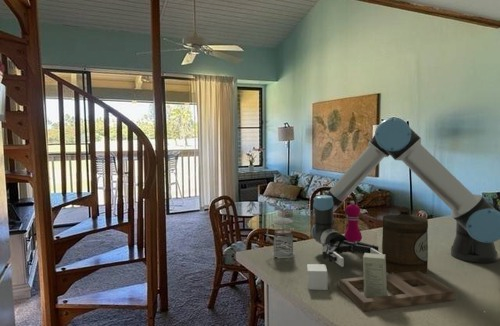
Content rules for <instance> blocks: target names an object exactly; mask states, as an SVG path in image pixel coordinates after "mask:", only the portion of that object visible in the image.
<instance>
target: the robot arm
mask: <svg viewBox="0 0 500 326" xmlns="http://www.w3.org/2000/svg"><path fill="white" fill-rule="evenodd" d="M389 156H390V157H392V159H393V160H395V161H401V162H403V163H404V164H405V165H406V167H407V168H409V169H410V171H412V173H414V175H416V176H417V177H418V178H419V179H420V180H421V181H422V182H423V183H424V184H425V185H426V186H427V187H428V188H429V189H430V190H431V191H432V192H433V193H434V194H435V195H436V196H437V197H438V198H439V199H440V200H441V201H442V202H443V203H444V204H445V205H446V206H447V207H448V208H449V209H450V210H451V217H452V218H453V219H454V220H455V222H456V224H455V225H456V226H455V227H456V229H455V233H456V234H455V237H454V239H453V243H452V245H451V247H450V255H451V256H452V257H454V258H456V259H458V260H462V261H466V262H472V263H478V264H479V263H480V264H489V263H490V264H491V263H494V262H495V263H496V262H497V261H498V259H499V258H498V254H499V253H498V251H497V249H496V245H495V243H494V242H498V241H499V240H500V211H498V210H497V209H496V208H495V207H494V201H493V199H492V198H491V197H483V196H482V195H481V194H473V193H472V192H471V191H470V190H469V189H468V188H467V187H466V186H465V185H464V184H463V183H462V182H461V181H460V180H459V179H457V177H456V176H454V175H453V174H452V173H451V172H450V171H449V170H448V168H446V167H445V166H444V165H443V164H442V163H441V162H440V161H439V160H438V159H437V158H436V157H435V156H434V155H432V153H431V152H430V151H428V150H427V149H426V148H425V147H424V145H422V138H421V137H420V135H418V134H417V133H416V132H415V131H414V130H413V129H412V128H411V127H410V125H409V124H408V123H407V121H405V120H404V119H402V118H400V117H389V118H386V119H383V120H382V121H381V122H380V123H379V124H378V125H377V127H376V128H375V131H374V135H373V137H372V138H371V139H370V140H369V141H368V146H367V148H366V149H365V150H364V151H363V152H362V153H361V154H360V155H359V157H358V158H356V160H355V161H354V162H353V163H352V164H351V166H350V167H348V168H347V170H346V171H345V172H344V173H343V175H341V177H340V178H339V179H338V180H337V181H336V182H335V183H334V184H333V185H332V187H331V188H330V189H329V190H328V191H327V192H326V194H321V195H316V196H314V199H313V211H314V212H313V215H314V219H313V220H314V221H313V222H314V223H313V225H312V227H311V229H310V230H311V231H310V233H311V236H312V238H313V239H314V240H315V242H317V243H318V244H321V246H322V260H327V259H328V262H330V263H333V262H334V263H336V264H337V265H339V266H340V267H342V268H343V267H344V265H345V260H344V257H343V256H341V254H343V253H351V254H354V253H359V254H363V255H364V253H374V254H382V252H380V251H379V246H378V245H375V244H373V245H372V244H370V243H366V242H361V241H360V242H359V241H355V243H353V242H349V241H347V239H346V237H345V236H344V234H342V233H341V232H339V231H336V230H335V229H334V214H335V211H336V210H338V208H339V207H340V206H341V205H342V204H343V202H344V201H346V199H347V198H348V197H349V196H350V195H351V194H352V193H353V192H354V190H355V189H356V188H357V187H358V186H359V185H360V184H362V182H363V181H364V180H365V179H366V178H367V176H369V174H370V173H371V172H373V170H374V169H375V168H376V167H377V166H378V165H379V163H380V162H381V161H382V160H383V159H384V158H388V157H389Z"/></svg>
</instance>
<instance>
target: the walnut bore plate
mask: <svg viewBox="0 0 500 326" xmlns="http://www.w3.org/2000/svg"><path fill="white" fill-rule="evenodd" d="M386 282H387V289H388V290H389V291H391V292H392V293H393V294H392V295H387V296H383V297H375V298H370V297H365V296H364V293H363V294H362V293H361V291H359V290H358V289H362V288H364V276H360V277H350V278H341V279H338V288H339V289H340V290H341V291H342V292H343V293H344V294H346V295H347V297H349V298H350V300H351V301H353V303H354V304H356V305H357V306H358V307H359V308H360V309H361V310H362V311H363V312H370V311H377V310H385V309H386V310H387V309H393V308H394V309H395V308H401V307H409V306H410V307H411V306H417V305H425V304H433V303H434V304H435V303H441V302H448V301H449V302H451V301H455V300H456V291H455V290H453V289H452V288H450V287H449V286H446V285H444V284H443V283H441V282H439V281H438V280H436V279H434V278H433V277H430V276H429V275H427V274H423V273H421V272H420V271H413V272H403V273H386Z"/></svg>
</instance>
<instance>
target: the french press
mask: <svg viewBox="0 0 500 326" xmlns="http://www.w3.org/2000/svg"><path fill="white" fill-rule="evenodd" d="M279 197H280V198H281V207H282V208H281V210H282V211H281V213H282V217H277V218H276V219H274V220H273V221H272V223H273V224H270V225H269V226H268V227H267V229H266V232H265V233H266V238H267V239H268V241H269V242H270V243H272V244H273V245H272V246H273V252H272V254H271V256H272V257H273V256H274V257H273V258H275V257H277V258H276V259H280V258H288V259H293V258H294V257H296V253H295V252H294V238H293V237H294V235H293V234H292V233H293V230H291V229H288V228H287V229H286V228H281V229H274V228H275V225H278V226H279V225H281V226H286V225H292V224H293V223H294V222H293V220H292V219H290V218H288V217H284V209H283V208H284V206H283V202H284V200H283V198H284V197H285V194H284V193H281V194H280V195H279ZM271 227H272V229H274V235H273V240H272V239H271V238H270V236H269V229H270V228H271Z"/></svg>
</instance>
